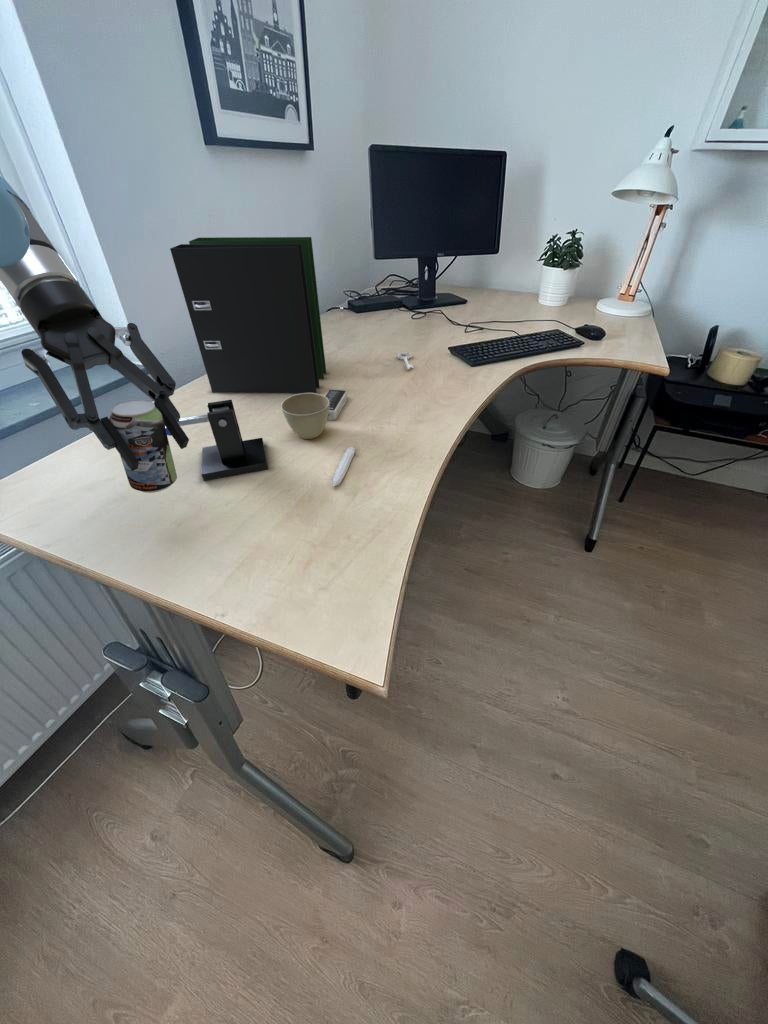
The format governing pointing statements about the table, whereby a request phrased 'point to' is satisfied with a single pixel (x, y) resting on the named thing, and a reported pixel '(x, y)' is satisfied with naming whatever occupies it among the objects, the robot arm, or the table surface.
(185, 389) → the table surface
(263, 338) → the binder
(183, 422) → the lever
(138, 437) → the beverage can
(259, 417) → the table surface
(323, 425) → the flower pot
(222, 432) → the bracket
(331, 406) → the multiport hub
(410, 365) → the key
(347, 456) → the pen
